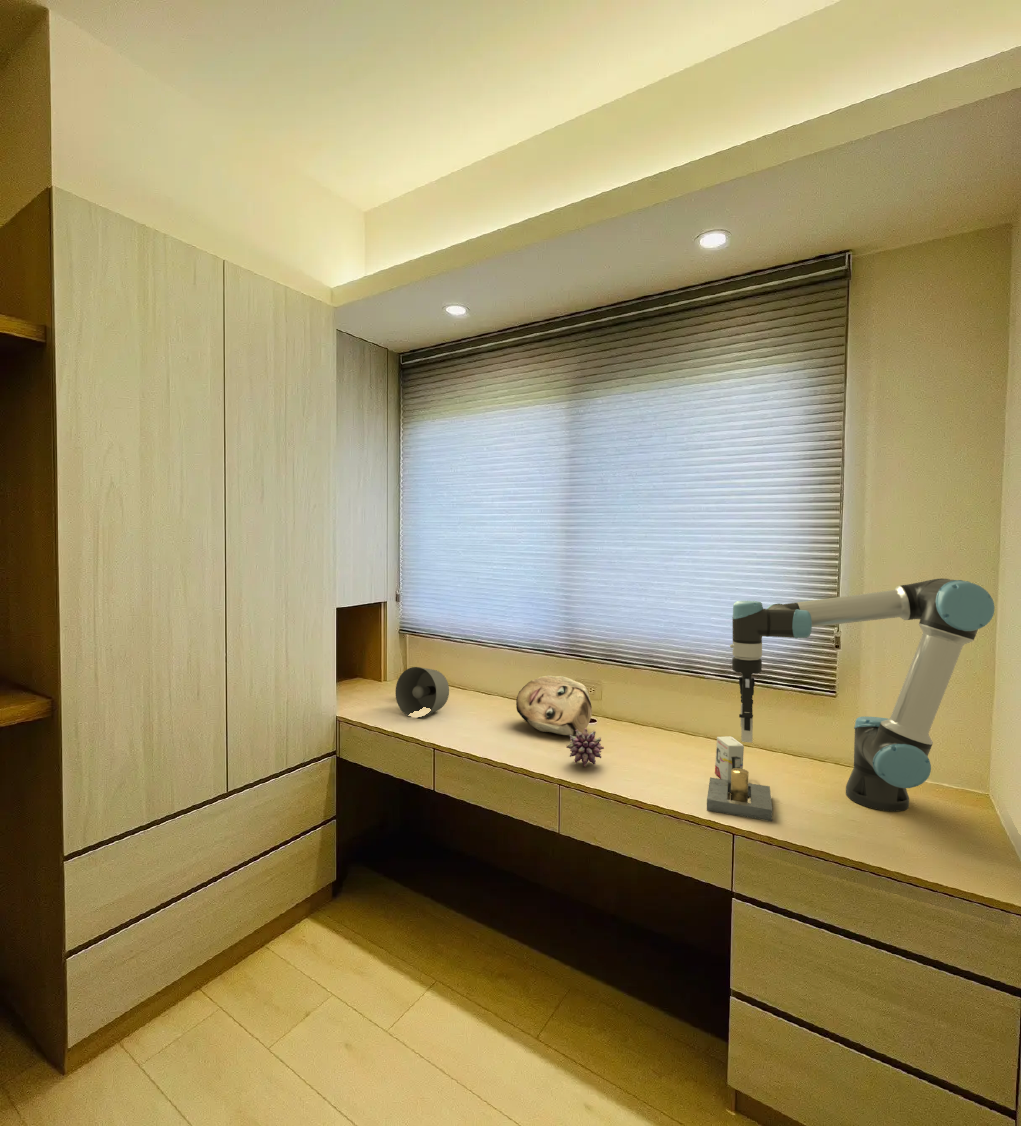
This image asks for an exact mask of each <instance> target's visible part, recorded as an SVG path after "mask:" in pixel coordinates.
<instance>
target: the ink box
mask: <svg viewBox="0 0 1021 1126" xmlns="http://www.w3.org/2000/svg"><path fill="white" fill-rule="evenodd" d="M715 749H716V750H715V765H714V774H715V775H716V776H717V777H719V779H724V780H731V770H732V769H733V768H741V769H744V750H745V746H744V744H742V743H741V742H740V741H739V740H737V739H736V738H734V737H733V736H729V735H727V736H716V748H715Z"/></svg>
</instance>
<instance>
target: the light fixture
mask: <svg viewBox="0 0 1021 1126" xmlns="http://www.w3.org/2000/svg"><path fill="white" fill-rule="evenodd" d="M396 681H397V682H396V684H395V690H394V691H395V700H396V704H397V705H398V707H399V709H400V710H401V712H402V713H403V714H404V715H406V716H407V717H409V716H408V715H409V714H410V713H413V712H414V711H419V710H420V709H422V708H423V707H426V708H430V709H431V711H430V712H429V713H428V714H427V715H425V716H422V717H420V718H419V719H421V718H424V717H426V716H428V715H431V714H433V713H435V712H437V711H439V710H441V709H442V708H443V707H445V705H446V703H447V702H448V699H449V697H450V686H449V682H448V679H447V678H446V677H445V675H444V674H443V673H442V672H440V671H439V670H436V669H432V668H425V667H420V666H411V667H409V668H407V669H405V670H403V672H402V673H401V674H400V676H399V677H398V679H397V680H396Z"/></svg>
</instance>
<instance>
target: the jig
mask: <svg viewBox="0 0 1021 1126" xmlns="http://www.w3.org/2000/svg"><path fill="white" fill-rule="evenodd" d="M708 783H709V784H708V788H707V789H708V791H707V797H706V811H708V812H713V813H714V812H715V813H720V814H727V815H733V816H737V817H744V818H749V819H754V820H761V821H767V822H773V805H772V804H773V803H772V796H771V795H772V794H771V787H770V786H769V785H764V784H763V785H762V784H756V783H750V782H748V797H750V799H749V800H750V803H749V802H748V803H745V802H739V801H733V800H731V799H728V798H729V795H728V794H731V780H724V779H721V778H717V777H716V778H715V777H709V782H708Z"/></svg>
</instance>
